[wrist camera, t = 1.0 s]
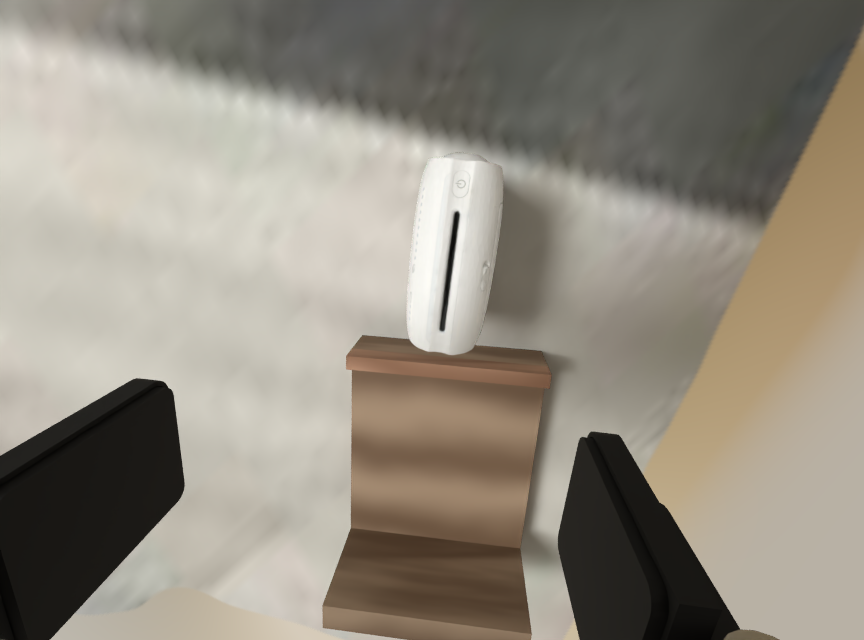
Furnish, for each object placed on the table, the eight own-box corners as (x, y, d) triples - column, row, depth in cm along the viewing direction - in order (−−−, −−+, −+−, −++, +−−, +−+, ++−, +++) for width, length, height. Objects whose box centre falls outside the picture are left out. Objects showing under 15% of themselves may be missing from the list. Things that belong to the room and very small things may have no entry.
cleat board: (362, 335, 33) (318, 391, 24) (541, 351, 32) (569, 416, 23) (359, 521, 39) (322, 627, 29) (513, 539, 38) (527, 656, 28)
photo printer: (438, 161, 29) (414, 138, 18) (499, 168, 29) (518, 151, 17) (421, 303, 32) (391, 366, 21) (477, 311, 32) (479, 379, 20)
